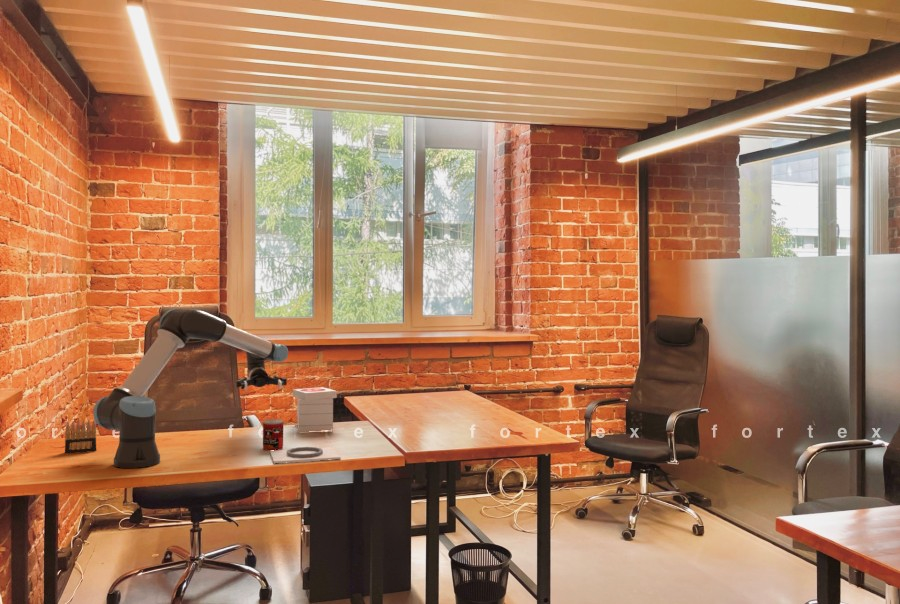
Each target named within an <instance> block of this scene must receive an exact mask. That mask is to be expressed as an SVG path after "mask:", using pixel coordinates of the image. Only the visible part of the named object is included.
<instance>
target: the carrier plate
mask: <svg viewBox="0 0 900 604" xmlns="http://www.w3.org/2000/svg"><path fill="white" fill-rule="evenodd" d="M269 454H270V457H271V460H272V462H274V463H273V465H276V464H275V463H284V464H291V463H290V462H299V463H311V461H314V462H321V461H320V460H328V459H341V458H342V456H341V455H340V454H339V453H338V452H337V451H336V449H335V448H334V447H333V446H328V447H316V446H315V447H314V446H302V447H301V446H300V447H294V448H290V449H280V450H274V451H269ZM286 462H287V463H286ZM288 462H289V463H288Z"/></svg>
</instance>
